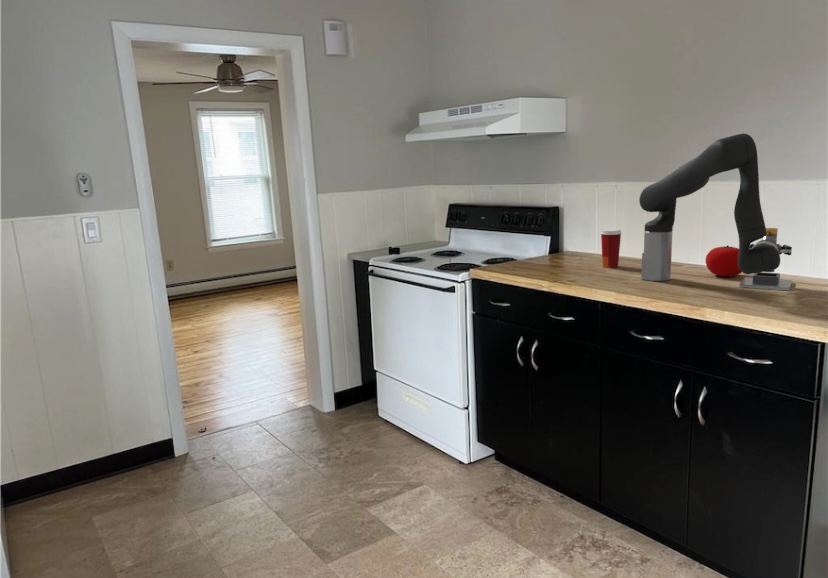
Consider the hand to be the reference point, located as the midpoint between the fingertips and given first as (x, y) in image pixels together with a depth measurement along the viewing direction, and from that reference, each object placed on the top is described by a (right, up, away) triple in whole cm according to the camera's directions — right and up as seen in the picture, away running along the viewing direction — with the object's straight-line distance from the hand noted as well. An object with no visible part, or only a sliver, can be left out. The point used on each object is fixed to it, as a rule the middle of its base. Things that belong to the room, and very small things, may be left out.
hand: (769, 246), depth 200 cm
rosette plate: (-1, -13, 0) cm, 13 cm away
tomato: (-5, -9, +19) cm, 22 cm away
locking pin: (-1, -8, -1) cm, 8 cm away
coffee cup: (-37, -5, +48) cm, 61 cm away
